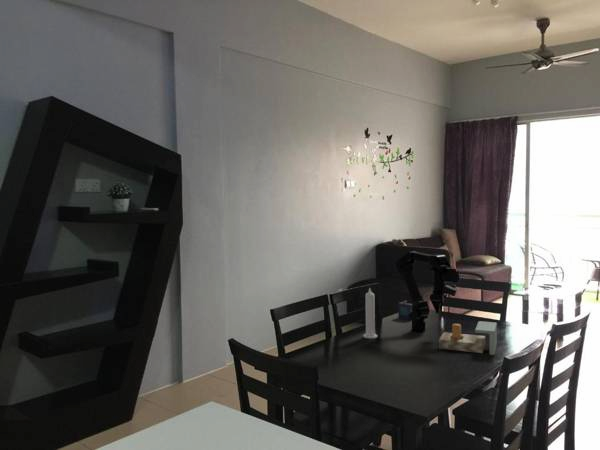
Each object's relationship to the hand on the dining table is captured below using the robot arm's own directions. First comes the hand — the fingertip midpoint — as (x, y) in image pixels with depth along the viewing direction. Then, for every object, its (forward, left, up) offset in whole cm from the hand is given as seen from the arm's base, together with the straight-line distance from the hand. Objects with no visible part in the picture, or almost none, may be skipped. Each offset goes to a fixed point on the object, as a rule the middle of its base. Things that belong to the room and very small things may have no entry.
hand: (439, 311), depth 248 cm
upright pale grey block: (+23, -12, -13) cm, 29 cm away
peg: (+10, -12, -13) cm, 20 cm away
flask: (-24, +30, -13) cm, 41 cm away
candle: (-32, -12, -13) cm, 37 cm away
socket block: (+13, -12, -13) cm, 22 cm away
